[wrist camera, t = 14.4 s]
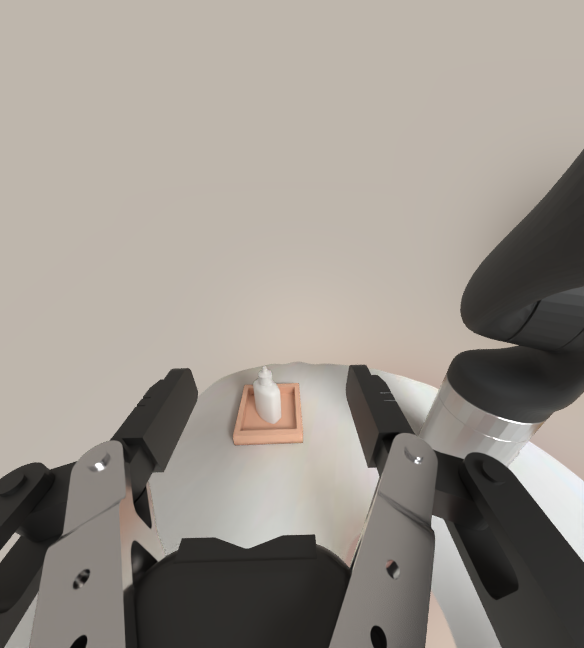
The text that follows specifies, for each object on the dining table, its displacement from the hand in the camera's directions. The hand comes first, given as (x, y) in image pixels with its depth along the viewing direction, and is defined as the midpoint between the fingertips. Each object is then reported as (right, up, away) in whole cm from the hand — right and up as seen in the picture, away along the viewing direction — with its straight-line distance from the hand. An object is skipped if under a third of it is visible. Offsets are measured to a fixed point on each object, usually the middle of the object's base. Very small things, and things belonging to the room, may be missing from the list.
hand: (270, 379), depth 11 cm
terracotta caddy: (-3, -16, +31) cm, 35 cm away
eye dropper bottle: (-4, -15, +31) cm, 35 cm away
